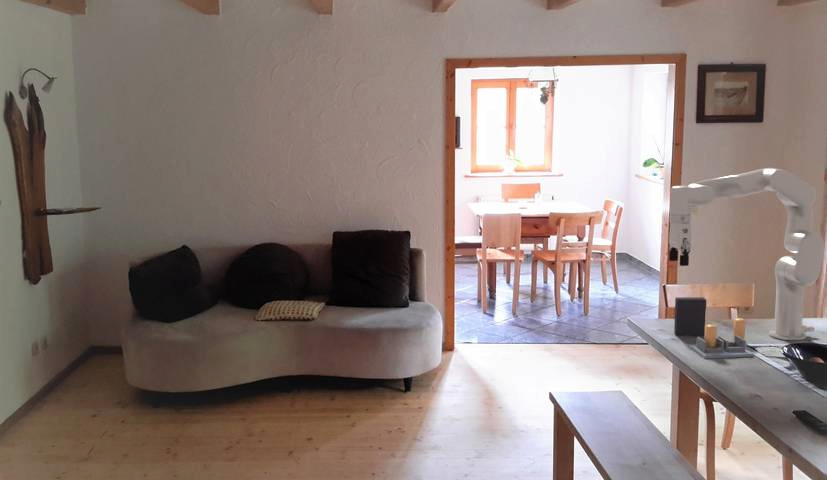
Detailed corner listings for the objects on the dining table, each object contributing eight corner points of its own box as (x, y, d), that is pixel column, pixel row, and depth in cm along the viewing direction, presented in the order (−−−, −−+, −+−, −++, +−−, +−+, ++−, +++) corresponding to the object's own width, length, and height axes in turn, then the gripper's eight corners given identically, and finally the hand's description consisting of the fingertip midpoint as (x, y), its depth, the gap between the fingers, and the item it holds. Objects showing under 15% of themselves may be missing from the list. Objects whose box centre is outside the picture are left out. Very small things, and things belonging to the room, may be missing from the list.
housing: (735, 345, 263) (736, 319, 262) (753, 356, 251) (755, 329, 249) (688, 347, 263) (689, 321, 261) (704, 358, 250) (705, 331, 248)
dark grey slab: (701, 333, 280) (703, 296, 278) (705, 336, 276) (706, 299, 273) (673, 333, 281) (674, 296, 279) (676, 336, 277) (677, 299, 274)
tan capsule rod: (741, 340, 269) (742, 317, 268) (746, 343, 265) (747, 320, 264) (731, 341, 269) (732, 318, 268) (736, 344, 265) (737, 321, 264)
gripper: (700, 221, 255) (698, 267, 258) (680, 215, 272) (678, 258, 275) (679, 222, 255) (678, 267, 258) (661, 216, 272) (660, 259, 275)
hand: (678, 263), depth 266 cm, fingers open, 9 cm apart
